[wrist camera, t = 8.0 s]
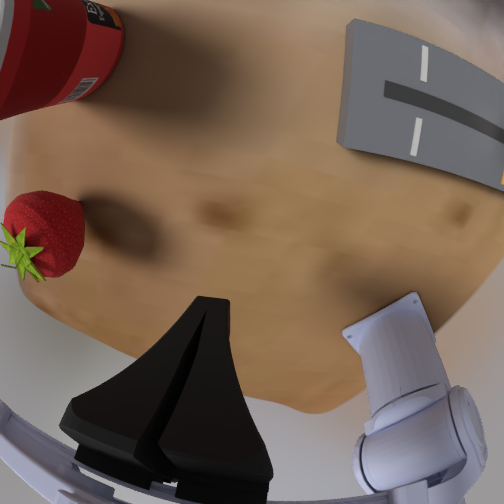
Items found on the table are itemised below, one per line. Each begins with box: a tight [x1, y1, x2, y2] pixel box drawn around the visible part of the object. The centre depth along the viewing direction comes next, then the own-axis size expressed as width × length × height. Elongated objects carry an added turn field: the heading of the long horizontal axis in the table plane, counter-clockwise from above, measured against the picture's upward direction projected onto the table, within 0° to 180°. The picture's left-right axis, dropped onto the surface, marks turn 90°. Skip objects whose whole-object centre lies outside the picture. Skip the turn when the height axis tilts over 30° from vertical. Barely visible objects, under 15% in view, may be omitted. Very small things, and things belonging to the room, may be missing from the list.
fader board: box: [336, 19, 504, 191], centre depth 12 cm, size 19×8×2 cm, turn 87°
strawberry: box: [0, 191, 85, 282], centre depth 16 cm, size 6×8×10 cm
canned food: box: [0, 0, 124, 120], centre depth 8 cm, size 8×8×11 cm
